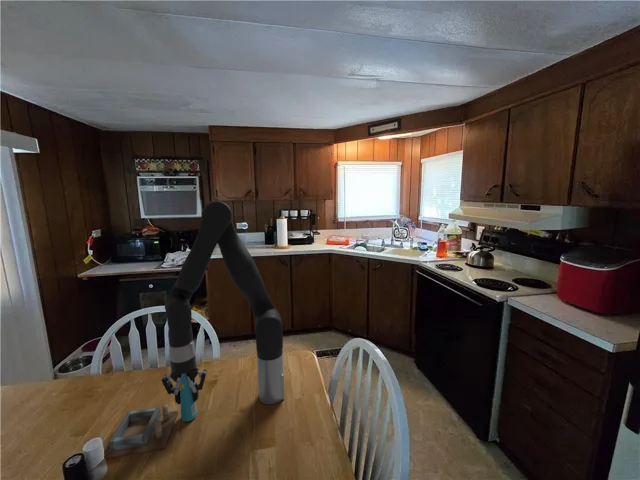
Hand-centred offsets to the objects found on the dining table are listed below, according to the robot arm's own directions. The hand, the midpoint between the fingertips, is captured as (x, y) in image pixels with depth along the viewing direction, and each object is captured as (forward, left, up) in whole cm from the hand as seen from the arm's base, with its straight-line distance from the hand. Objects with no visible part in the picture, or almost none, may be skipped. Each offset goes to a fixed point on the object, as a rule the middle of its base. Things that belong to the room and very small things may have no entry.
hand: (187, 401), depth 98 cm
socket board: (+12, +4, -6) cm, 14 cm away
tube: (0, 0, -6) cm, 6 cm away
